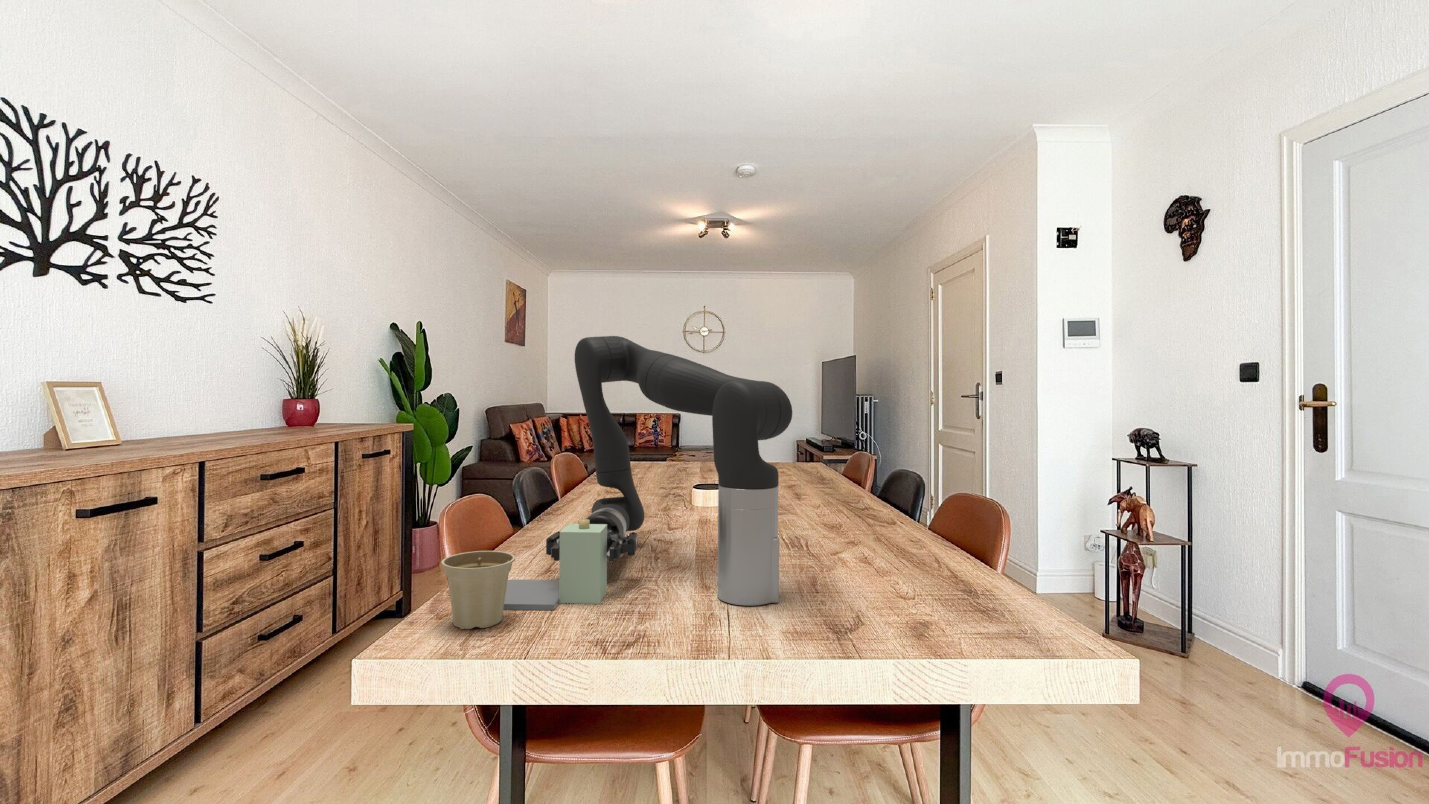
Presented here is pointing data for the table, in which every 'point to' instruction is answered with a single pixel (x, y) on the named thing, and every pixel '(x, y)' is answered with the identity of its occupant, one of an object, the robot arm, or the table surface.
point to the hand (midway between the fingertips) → (584, 554)
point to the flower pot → (477, 586)
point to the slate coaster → (531, 595)
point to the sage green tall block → (583, 563)
